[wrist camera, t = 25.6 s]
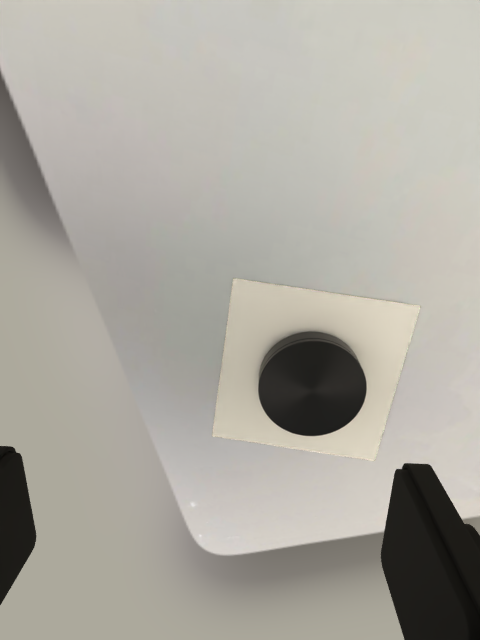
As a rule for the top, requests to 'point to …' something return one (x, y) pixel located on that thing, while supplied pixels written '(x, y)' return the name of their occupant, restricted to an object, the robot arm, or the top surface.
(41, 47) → the top surface
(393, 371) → the cream paper sheet
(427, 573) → the robot arm
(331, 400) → the jar lid
